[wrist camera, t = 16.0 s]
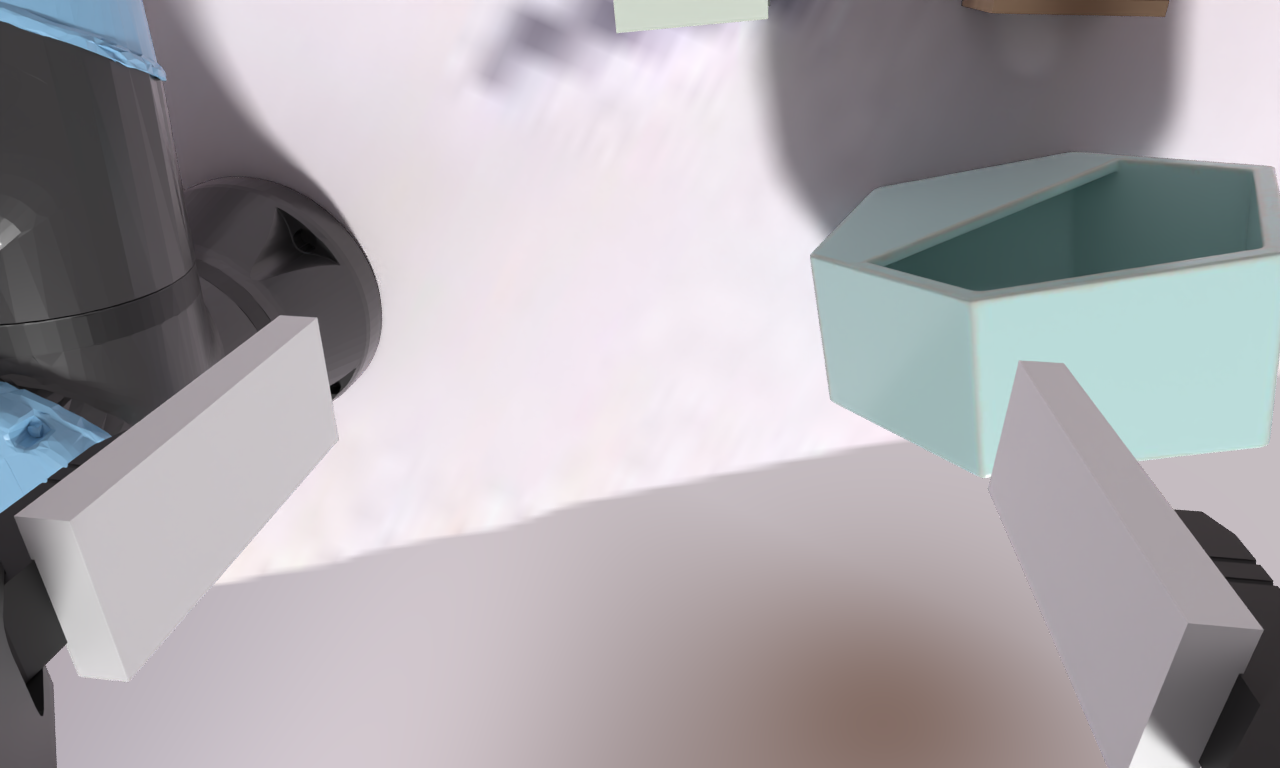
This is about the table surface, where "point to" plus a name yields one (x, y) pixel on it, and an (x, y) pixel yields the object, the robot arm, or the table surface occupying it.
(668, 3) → the pale green block
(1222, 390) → the planter
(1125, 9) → the walnut box
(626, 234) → the table surface
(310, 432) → the robot arm
